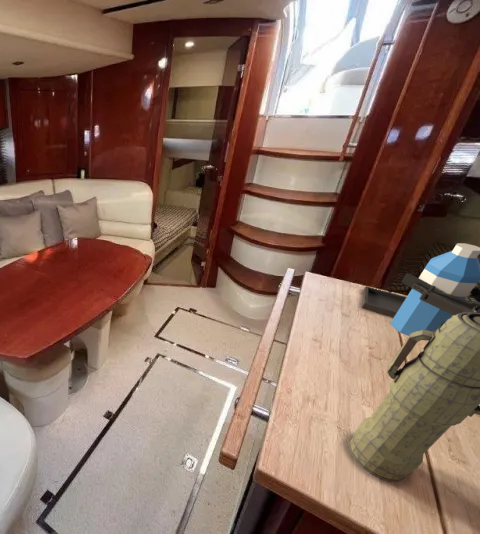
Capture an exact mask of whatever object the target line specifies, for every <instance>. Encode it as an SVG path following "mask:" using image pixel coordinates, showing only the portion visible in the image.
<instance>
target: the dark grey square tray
mask: <svg viewBox="0 0 480 534" xmlns="http://www.w3.org/2000/svg"><path fill="white" fill-rule="evenodd" d="M365 286H366V287H365ZM365 286H364V288H363V290H362V297H361V298H362V300H361V309H363V310H367V311H369V312H373V313H376V314H380V315H384V316H387V317H390V318H392V319H393V318H394V317H395V315H396V313H397V312H398V310H399V309H400V307H401V305H402V304H403V302H404V301H405V299H406V297H407V296H405V295H401V294H398V293H393V292H389V291H386V290H382V289H379V288H375V287H372V286H367V285H365ZM374 288H375V289H374ZM377 289H378V290H377ZM381 290H382V291H381Z"/></svg>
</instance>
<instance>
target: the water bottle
mask: <svg viewBox="0 0 480 534" xmlns="http://www.w3.org/2000/svg"><path fill="white" fill-rule="evenodd" d="M479 255H480V246H477V245H474V244H470V243H463V242H462V243H460V242H458V243H456V244H455V246H454V247H453V249H452V250H450V251H447V252H444V253H442V254H440V255H437V256H434V257H432V258H430V260H429V261H428V262H427V264H426V265H425V267H424V269H423V271H422V272H421V273H420V275H419V277H418V278H419V279H421V280H423V281H425V282H427V283H428V284H430V285H432V286H435V289H436V290H439V291H441V292H444V293H447V294H450V295H453V296H456V297H459V298H462V299H464V300H467V297H469V296H470V294H471V293H470V292H471V291H472V289H473V288H474V287H475V286H476V285H477V284H478V283H479V281H480V261H479V258H478V257H479ZM421 295H422V294H421V293H419V292H418V291H416V290H414V289H412V288H411V290H410V291H409V293H408V294H407V296H405V297H406V299H405V301H404V302H403V304H402V305H401V307H400V309H399V310H398V312H397V313H396V315H395V317H394V318H393V317H392V320H391V321H390V324H389V325H391V326H392V327H393V329H395V330H396V331H397V332H398V333H399V334H402V335H405V336H406V337H409V335H410V334H411V333H413V332H417V331H420V330H428V331H433V332H434V330H436V331H437V329H438V328H439V327H440V325H441V324H442V323H443V322H445V321H446V320H448V319H450V318H452V317H453V316H454V315H452V314H450V313H448V312H445V311H443V310H441V309H439V308H437V307H435V306H433V305H430V304H428V303H426V302H424V301H422V300H420V299H419V298H420V297H421ZM422 341H427V342H428V341H429V340H426V339H423V340H422Z"/></svg>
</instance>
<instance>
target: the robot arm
mask: <svg viewBox="0 0 480 534" xmlns="http://www.w3.org/2000/svg"><path fill="white" fill-rule="evenodd" d="M401 283H402V284H403V285H406V286H407V287H409V288H411V290H412V289H414V290H416V291H418V292H419V293H421V294H422V295H421V297H420V298H419V299H420V300H422V301H424V302H426V303H428V304H430V305H433V306H435V307H437V308H439V309H441V310H443V311H445V312H448V313H450V314H452V315H453V316H455V315H457V314H459V313H462V312H472V313H480V285H477V286H476V285H475V287H474V288H473V289H472V291H471V292H470V293H469V295H468V298H470V299H474V300H473V301H470V300H467V299H465V300H464V299H462V298H459V297H456V296H453V295H450V294H447V293H444V292H441V291H439V290H436V289H435V286H432V285H430V284H428V283H427V282H425V281H423V280H421V279H419V277H417V276H415V275H413V274H412V273H408V272H407V273H406V274H405V275H404V277H403V278H402V280H401ZM475 307H476V308H475ZM474 308H475V309H474Z"/></svg>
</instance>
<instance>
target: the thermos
mask: <svg viewBox="0 0 480 534" xmlns="http://www.w3.org/2000/svg"><path fill="white" fill-rule="evenodd" d="M423 339H426V340H425V341H427V343H426V344H425V346H423V348H422V349H423V351H420V352H419V353H418V355H417V356H416V357H414V358H412V359H409V360H408V361H406V362H405V360H406V359H407V358H408V356H409V354H410V353H411V352H412V350H413V349H414V348H415V347H416V345H417V343H418V342H420V341H424V340H423ZM428 340H429V341H428ZM404 362H405V364H403V363H404ZM402 365H403V366H402ZM401 366H402V367H401ZM386 373H387V374H388V376H389V377H390V378H391V379H392V381H391V383H390V384H389V392H388V393H387V394H386V396H385V397H384V398H383V400H381V402H380V404H379V405H378V406H377V408H376V409H375V410H374V412H373V413H372V414H371V416H368V417H367V418H364V419H363V420H362V421H361V423H360V424H359V426H357V428H356V429H355V430H354V432H353V434H352V437H350V440H349V441H348V445H347V446H348V450H349V454H350V455H351V456H352V458H353V459H354V461H355V462H356V463H357V464H358V465H359V466H360V467H361V468H362V469H364V470H365V471H367V472H368V473H369V474H371V475H372V476H374V477H376V478H378V479H379V480H383V481H385V482H390V483H399V482H401V481H403V480H404V479H405V478H406V476H409V475H411V474H412V473H414V471H416V469H418V467H419V466H420V465H421V464H422V463H423V461H424V454H425V453H427V452H428V450H429V449H430V448H431V447H433V445H434V444H435V443H436V442H437V441H438V440H440V438H441V437H442V436H443V435H444V434H445V433H446V432H447V431H448V430H449V429H450V428H451V427H452V426H454V427H455V426H457V425H460V424H461V423H462V422H463V421H464V420H465V419H466V418H468V417H470V418H472V417H473V416H474V415H478V416H480V313H472V312H462V313H459V314H457V315H455V316H454V315H453V316H452V317H451V318H450V319H448V320H446V321H445V322H443V323H442V324H441V325H440V327H439V328H438V329H437V331H436V330H434V332H433V331H428V330H420V331H417V332H413V333H411V334H410V335H409V336H407V339H406V340H405V341H404V343H403V344H402V346H401V347H400V348H399V350H398V351H397V353H396V354H395V355H394V357H393V359H392V360H391V361H390V362H389V364H388V365H387V367H386Z"/></svg>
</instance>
